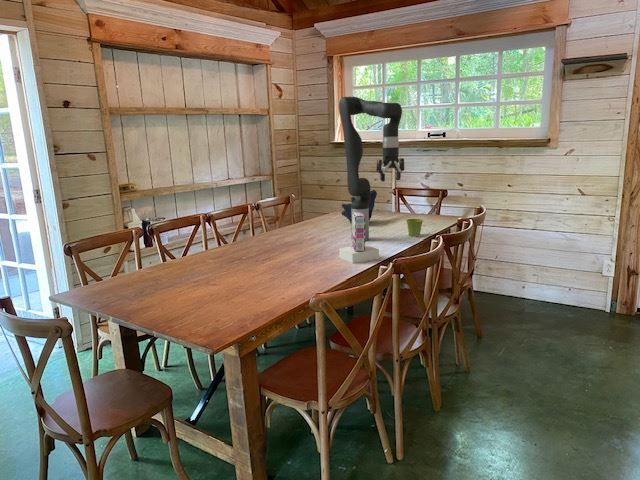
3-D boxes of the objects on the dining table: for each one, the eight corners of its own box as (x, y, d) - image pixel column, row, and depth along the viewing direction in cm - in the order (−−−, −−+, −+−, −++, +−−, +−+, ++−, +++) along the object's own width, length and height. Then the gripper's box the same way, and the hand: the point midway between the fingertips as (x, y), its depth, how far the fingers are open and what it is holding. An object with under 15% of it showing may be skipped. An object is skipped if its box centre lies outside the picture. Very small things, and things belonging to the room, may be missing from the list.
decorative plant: (349, 240, 297) (347, 219, 324) (387, 224, 292) (382, 204, 318) (335, 213, 288) (334, 194, 315) (374, 196, 283) (370, 178, 309)
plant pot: (424, 234, 264) (425, 218, 262) (420, 237, 256) (421, 222, 254) (408, 233, 268) (408, 218, 266) (404, 236, 260) (404, 221, 258)
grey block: (339, 258, 221) (339, 248, 220) (365, 254, 227) (364, 244, 226) (352, 264, 211) (352, 253, 210) (378, 259, 217) (378, 249, 216)
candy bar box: (366, 251, 212) (365, 215, 209) (354, 252, 212) (354, 216, 208) (362, 245, 223) (362, 211, 220) (352, 246, 223) (351, 212, 219)
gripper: (398, 145, 230) (398, 179, 233) (373, 146, 224) (373, 181, 228) (407, 146, 223) (407, 180, 227) (382, 147, 217) (382, 182, 221)
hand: (390, 180), depth 227 cm, fingers open, 8 cm apart
